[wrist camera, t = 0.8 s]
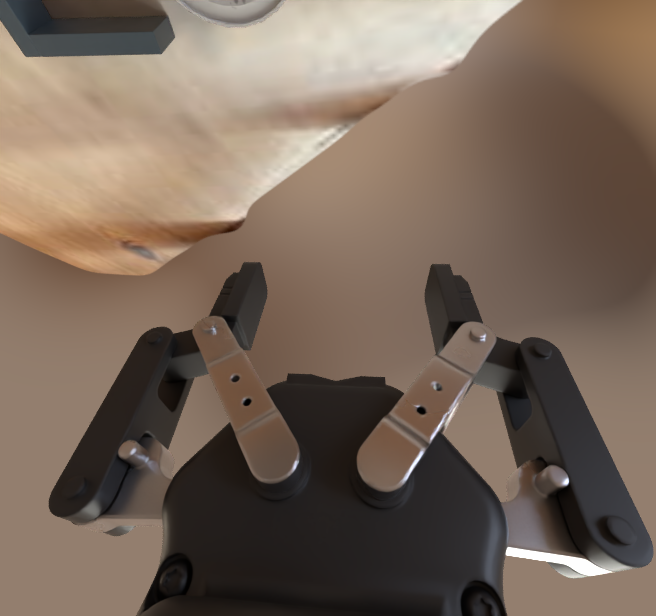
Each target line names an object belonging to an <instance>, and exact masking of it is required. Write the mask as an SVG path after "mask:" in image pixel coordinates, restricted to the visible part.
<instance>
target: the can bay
mask: <svg viewBox="0 0 656 616" xmlns="http://www.w3.org/2000/svg"><path fill="white" fill-rule="evenodd" d="M0 20H1V22H2V23H3V25H4V26H5V28H6V29H7V30H8V32H9V33H10V35H11V36H12V38H13V39H14V41H15V42H16V44H17V45H18V46H19V48H20V49H21V51H22V52H23V54H24V55H25V56H26V57H54V56H98V55H141V54H162V53H163V52H164V50H165V49H166V48H167V47H168V45H169V44H170V43H171V42H172V41H173V39H174V38H175V35H174V32H173V29H172V27H171V24H170V21H169V18H168V16H144V17H107V18H69V19H52V18H51V16H50V15H49V13H48V11H47V10H46V8H45V6H44V4H43V3H42V1H41V0H0Z"/></svg>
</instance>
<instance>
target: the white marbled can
mask: <svg viewBox="0 0 656 616" xmlns="http://www.w3.org/2000/svg"><path fill="white" fill-rule="evenodd" d="M176 1H177V2H178V3H179V4H180V5H182V6H183V7H184V8H185V9H187V10H188V11H189V12H190V13H192V14H194V15H196V16H198V17H200V18H202V19H203V20H205V21H207V22H209V23H213V24H216V25H220V26H224V27H227V28H230V27H248V26H251V25H254V24H257V23H260V22H263V21H264V20H265V19H267V18H268V17H270V16H271V15H272V14H274V13H275V12H277V11H278V9H279V8H280V7H281V6H282V4H283V3H284V2H285V1H286V0H176Z"/></svg>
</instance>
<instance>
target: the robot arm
mask: <svg viewBox="0 0 656 616" xmlns="http://www.w3.org/2000/svg"><path fill="white" fill-rule="evenodd" d="M266 299H267V285H266V281H265V277H264V273H263V269H262V265H261V263H260V262H244V263H243V265H242V268H241V270H240V272H239V273H233V274H232V275H231V276H230V277H228V279H226V281H225V283H224V286H223V289H222V290H221V292H220V295H219V296H218V298H217V300H216V302H215V304H214V307H213V309H212V311H211V313H210V315H209V316H208V317H205V318H203V319H201V320H200V321H198V322H197V324H195V326H194V328H193V329H192V330H188V331H184V332H179V333H175V334H173V332H172V331H171V330H170V329H169V328H167V327H157V328H153V329H151V330H149V331H147V332H145V333H144V334H143V335H142V336H141V337H140V338H139V340H138V342H137V343H136V345H135V347H134V349H133V350H132V352H131V354H130V356H129V357H128V359H127V361H126V363H125V364H124V366H123V368H122V370H121V371H120V373H119V375H118V377H117V378H116V380H115V382H114V384H113V385H112V387H111V389H110V391H109V392H108V394H107V396H106V398H105V399H104V401H103V403H102V405H101V406H100V408H99V410H98V411H97V413H96V415H95V417H94V419H93V420H92V422H91V424H90V425H89V427H88V429H87V431H86V432H85V435H84V436H83V438H82V439H81V441H80V443H79V445H78V447H77V448H76V450H75V452H74V453H73V455H72V457H71V459H70V460H69V462H68V464H67V466H66V467H65V469H64V471H63V473H62V475H61V476H60V478H59V480H58V481H57V483H56V485H55V487H54V489H53V490H52V492H51V495H50V498H49V509H50V511H51V513H52V514H53V515H55V516H57V517H61V518H63V519H66V520H69V521H71V522H72V523H73V524H75V525H78V526H81V527H84V528H87V529H90V530H93V531H96V532H103V533H107V534H109V535H112V536H120V535H123V534H126V533H128V532H129V531H131V530H132V529H133V528H134V527H136V526H163V545H162V553H161V559H160V564H159V568H158V571H157V574H156V576H155V578H154V581H153V583H152V585H151V587H150V589H149V591H148V593H147V595H146V597H145V600H144V601H143V603H142V605H141V607H140V609H139V611H138V613H137V615H136V616H507V613H506V608H505V604H504V597H503V567H504V560H505V556H506V555H510V556H517V557H523V558H530V559H536V560H542V561H547V562H548V563H549V564H550V566H551V567H552V568H554V569H555V570H556V571H557V572H559V573H560V574H562V575H564V576H566V577H569V578H581V577H588V576H593V575H599V574H605V573H611V572H617V571H623V570H628V569H634V568H640V567H643V566H646V565H648V564H649V563H650V562H651V560H652V557H653V545H652V541H651V539H650V536H649V534H648V532H647V530H646V528H645V526H644V524H643V522H642V520H641V517H640V515H639V513H638V511H637V509H636V507H635V505H634V503H633V501H632V499H631V497H630V495H629V493H628V491H627V488H626V486H625V484H624V482H623V480H622V478H621V476H620V474H619V472H618V470H617V468H616V466H615V464H614V462H613V459H612V457H611V455H610V453H609V451H608V449H607V447H606V445H605V443H604V441H603V439H602V437H601V435H600V433H599V430H598V428H597V426H596V424H595V422H594V420H593V418H592V416H591V414H590V412H589V410H588V408H587V406H586V404H585V402H584V399H583V397H582V396H581V393H580V391H579V389H578V387H577V385H576V383H575V381H574V379H573V377H572V375H571V373H570V371H569V368H568V366H567V364H566V362H565V360H564V358H563V356H562V354H561V352H560V351H559V349H558V348H557V347H556V346H555V345H553V344H552V343H550V342H548V341H546V340H543V339H540V338H535V337H530V338H526V339H524V340H523V341H522V342H521V344H518V343H515V342H511V341H507V340H504V339H501V338H498V337H496V334H495V333H494V331H493V330H492V329H491V328H490V327H488V326H487V325H485V324H483V322H482V319H481V316H480V314H479V311H478V308H477V306H476V303H475V301H474V298H473V295H472V293H471V290H470V287H469V284H468V282H467V281H466V280H465V279H464V278H463V277H462V276H460V275H453V273H452V270H451V267H450V265H449V264H432V265H431V268H430V272H429V276H428V280H427V285H426V289H425V303H426V308H427V314H428V318H429V323H430V328H431V333H432V337H433V342H434V347H435V351H436V354H435V355H434V356H433V358H432V359H431V360H430V361H429V363H428V364H427V365H426V366H425V368H424V369H423V370H422V372H421V373H420V374H419V376H418V377H417V378H416V379H415V381H414V382H413V383H412V385H411V386H410V387H409V388H408V390H407V391H406V392H405V394H404V393H403V392H401V391H400V390H398V389H396V388H394V387H391V386H388V385H386V384H385V377H365V376H364V377H363V376H360V377H355V378H349V379H344V380H340V381H333V380H330V379H326V378H322V377H319V376H315V375H312V374H288V376H287V381H283V382H280V383H277V384H275V385H273V386H271V387H269V388H267V389H265V387H264V385H263V384H262V382H261V380H260V378H259V377H258V375H257V373H256V371H255V370H254V368H253V366H252V364H251V363H250V361H249V359H248V357H247V356H246V354H245V352H244V350H251V347H252V344H253V340H254V338H255V334H256V331H257V328H258V325H259V321H260V318H261V315H262V312H263V309H264V305H265V302H266ZM206 374H209V375H210V377H211V379H212V382H213V384H214V386H215V389H216V391H217V393H218V395H219V397H220V400H221V402H222V404H223V407H224V409H225V411H226V413H227V416H228V418H229V421H230V423H228V424H227V425H226V426H225V427H224V428H223V429H222V430H221V431H220V432H219V433H218V434H217V435H216V436H214V437H213V439H211V440H210V441H209V442H208V443H207V444H206V445H205V446H204V447H203V448H202V449H200V450H199V451H198V452H197V453H196V454H195V455H194V456H193V457H192V458H191V459H190V460H189V461H188V462H187V463H185V464H184V465H183V466H182V467H181V468H180V470H179V471H178V472H177V473H176V475H175V476H174V477H173V476H172V471H173V466H174V458H173V455H172V454H171V452H169V451H168V448H169V445H170V443H171V440H172V437H173V435H174V432H175V429H176V426H177V423H178V421H179V418H180V416H181V413H182V410H183V407H184V404H185V402H186V399H187V397H188V394H189V391H190V388H191V386H192V383H193V380H194V378H195V377H198V376H202V375H206ZM473 384H477V385H480V386H484V387H487V388H490V389H493V390H496V391H497V395H498V399H499V403H500V406H501V410H502V414H503V417H504V421H505V425H506V428H507V432H508V436H509V439H510V443H511V447H512V450H513V454H514V457H515V461H516V465H517V470H516V471H515V472H513V473H512V474H511V475H510V476H509V478H508V480H507V485H506V488H507V499H506V502H504V503H501V502H500V501H499V499H498V497H497V495H496V494H495V492H494V491H493V490H492V488H491V487H490V486H489V485H488V484H487V483H486V481H485V480H484V479H483V478H482V477H481V476H480V475H479V474H478V473H477V472H476V471H475V469H474V468H473V467H472V466H471V465H470V464H469V463H468V462H467V460H466V459H465V458H464V457H463V456H462V455H461V454H460V453H459V452H458V450H457V449H456V448H455V447H454V446H453V445H452V444H451V443H450V442H449V440H447V438H446V437H445V436H444V435H443V433H444V431H445V430H446V428H447V427H448V425H449V423H450V421H451V420H452V418H453V416H454V414H455V413H456V411H457V410H458V408H459V406H460V405H461V403H462V401H463V400H464V398H465V397H466V395H467V394H468V392H469V390H470V389H471V387H472V386H473Z"/></svg>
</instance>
